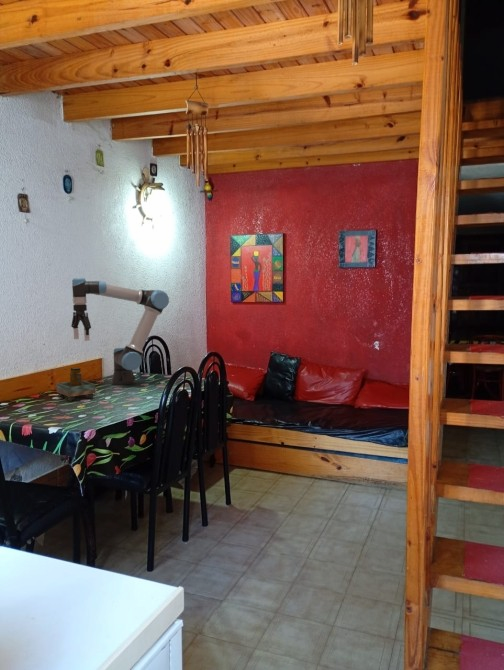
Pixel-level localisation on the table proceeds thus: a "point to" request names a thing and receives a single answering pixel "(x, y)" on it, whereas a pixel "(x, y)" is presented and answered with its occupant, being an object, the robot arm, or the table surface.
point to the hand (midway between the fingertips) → (81, 339)
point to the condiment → (75, 377)
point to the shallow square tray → (75, 390)
